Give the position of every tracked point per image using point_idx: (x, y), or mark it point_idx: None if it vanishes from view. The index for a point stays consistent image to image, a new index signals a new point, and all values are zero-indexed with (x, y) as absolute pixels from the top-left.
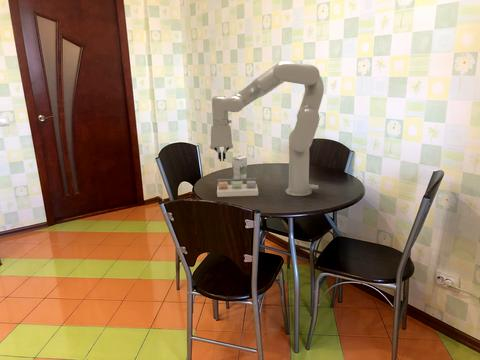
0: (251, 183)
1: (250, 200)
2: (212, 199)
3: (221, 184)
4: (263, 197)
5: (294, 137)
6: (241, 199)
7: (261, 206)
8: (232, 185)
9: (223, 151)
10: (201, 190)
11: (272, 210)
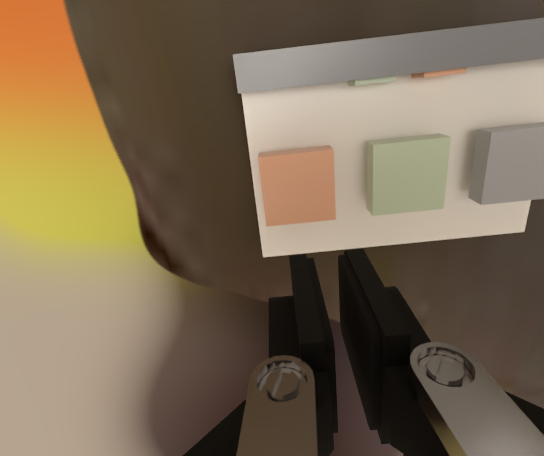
0: (515, 201)
1: (442, 296)
2: (244, 282)
3: (289, 223)
4: (522, 253)
5: None
6: (398, 282)
7: None
8: (362, 109)
9: (404, 448)
10: (130, 107)
11: None
